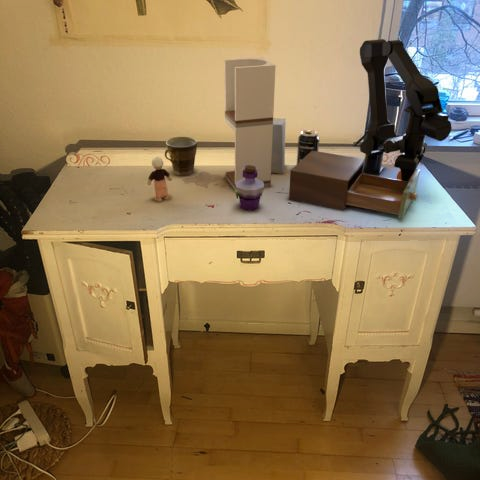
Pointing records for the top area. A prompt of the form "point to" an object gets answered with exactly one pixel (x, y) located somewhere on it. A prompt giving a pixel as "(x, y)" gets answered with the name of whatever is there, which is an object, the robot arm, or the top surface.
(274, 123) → the cosmetic box
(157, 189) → the grandmother figurine
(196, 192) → the top surface
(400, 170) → the orange
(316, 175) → the cabinet
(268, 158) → the white tower
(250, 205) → the potion bottle
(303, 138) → the beverage can
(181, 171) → the ceramic cup
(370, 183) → the drawer
